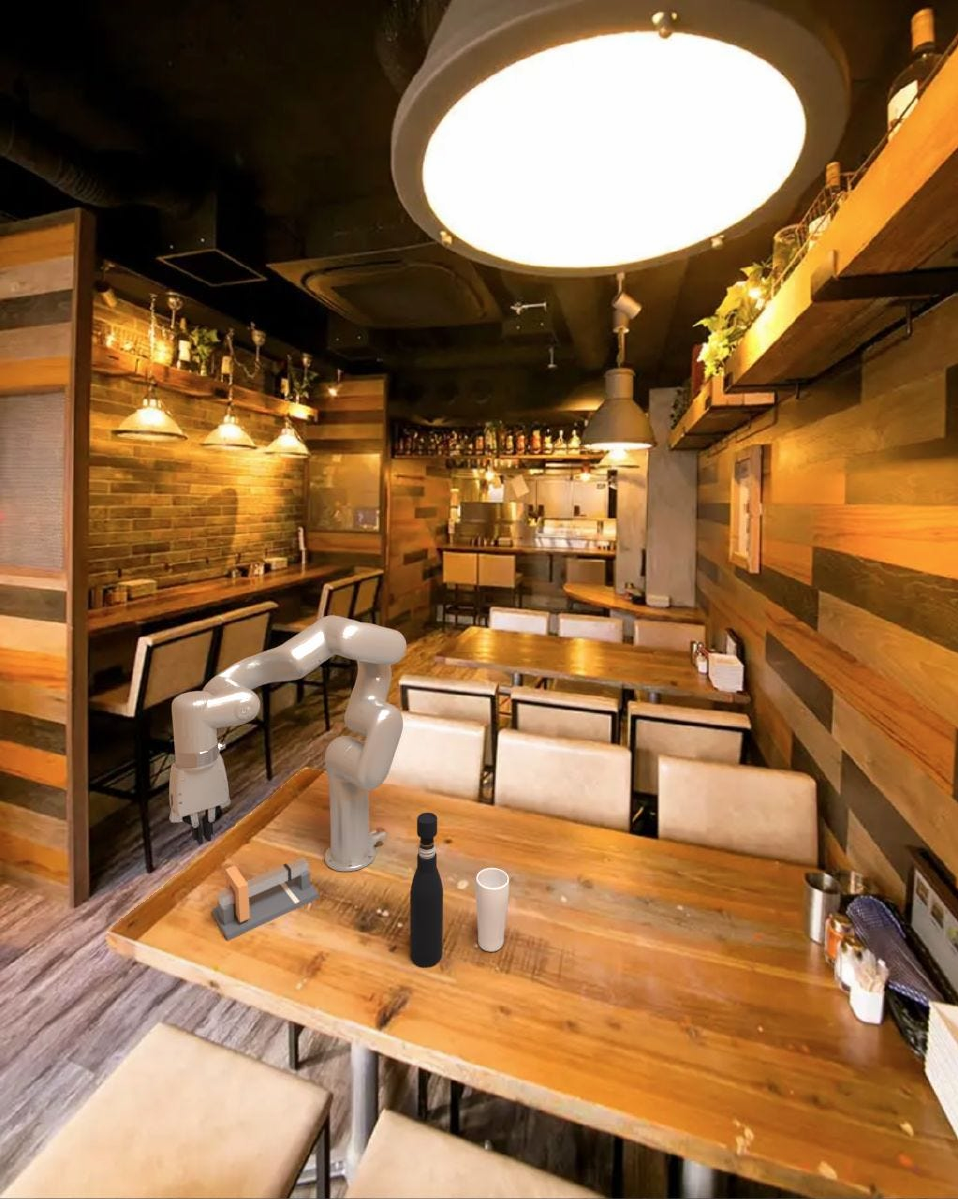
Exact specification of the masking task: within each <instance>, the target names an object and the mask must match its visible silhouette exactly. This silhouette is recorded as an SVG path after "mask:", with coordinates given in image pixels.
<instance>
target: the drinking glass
mask: <svg viewBox="0 0 958 1199" xmlns="http://www.w3.org/2000/svg"><path fill="white" fill-rule="evenodd" d="M475 878H476V879H475V907H476V921H477V922H476V923H477V924H476V925H477V942H478V943H477V944H478V946H479V947H480V948H481V949H482V950H484V951H485V952H490V953H493V952H497V951H498V950H499V951H500V949H501V948H502V947H503V945H504V942H505V932H506V920H507V915H508V914H507V913H508V906H509V897H510V895H509V894H510V878H509V875H508V874H507V872H506V871H504V870H502V869H499V868H496V867H487V868H483V869H482V870H480V871H479V872H478V873H477V875H476V877H475Z"/></svg>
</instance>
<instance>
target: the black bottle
mask: <svg viewBox="0 0 958 1199" xmlns="http://www.w3.org/2000/svg"><path fill="white" fill-rule="evenodd" d="M416 834H417V837H419V838H420V840H419V843H420V844H419V845H418V853H417V856H416V860H417V861H416V866H417V867H416V869H415V871H414V874H413V877H412V882H411V886H410V892H409V893H410V894H409V895H410V896H409V897H410V900H409V901H410V902H409V904H410V906H409V914H410V915H409V916H410V917H409V926H410V927H409V930H410V931H409V934H410V935H409V939H410V940H409V942H410V943H409V947H410V948H409V957H410V961H411V962H412V963H413V964H414V965H415V966H416V967H420V968H426V969H427V968H430V967H431V968H432V967H434V966H436V965H437V964H439V962H440V961H441V960H442V957H443V944H444V943H443V931H444V925H443V924H444V885H443V882H442V878H441V875H440V872H439V869H438V867H437V864H438V863H437V862H438V861H437V860H438V859H437V851H436V850H437V849H436V844H435V840H434V838H435V837H436V836H438V835H437V834H438V816H437V815H436V814H434V813H432V812H423V813H420V814H419V815H418V816H417V818H416Z"/></svg>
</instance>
